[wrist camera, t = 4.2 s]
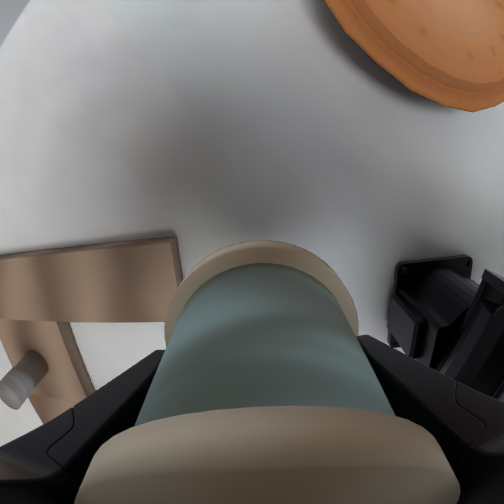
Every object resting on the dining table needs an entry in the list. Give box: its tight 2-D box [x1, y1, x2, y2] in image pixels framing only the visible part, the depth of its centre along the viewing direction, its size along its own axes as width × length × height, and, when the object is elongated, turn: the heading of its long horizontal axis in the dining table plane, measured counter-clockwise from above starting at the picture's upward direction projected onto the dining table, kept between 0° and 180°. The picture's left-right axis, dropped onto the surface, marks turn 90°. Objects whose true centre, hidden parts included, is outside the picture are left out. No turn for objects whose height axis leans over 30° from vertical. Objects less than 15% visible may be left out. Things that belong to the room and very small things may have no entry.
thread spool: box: [74, 240, 460, 504], centre depth 6 cm, size 6×6×7 cm
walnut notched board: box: [0, 237, 183, 424], centre depth 19 cm, size 18×18×6 cm
